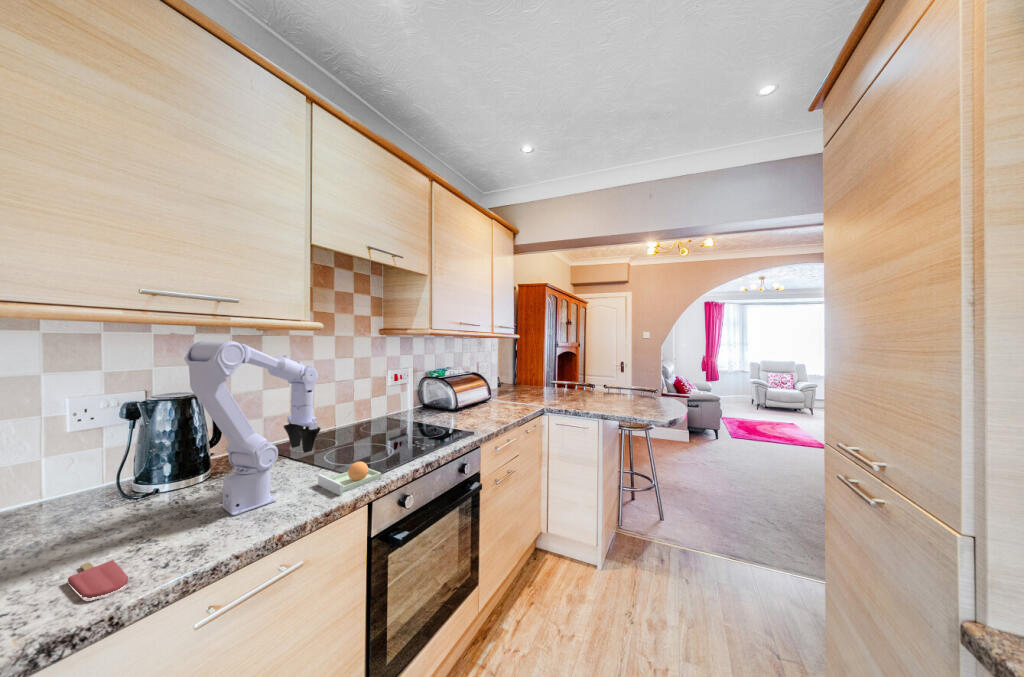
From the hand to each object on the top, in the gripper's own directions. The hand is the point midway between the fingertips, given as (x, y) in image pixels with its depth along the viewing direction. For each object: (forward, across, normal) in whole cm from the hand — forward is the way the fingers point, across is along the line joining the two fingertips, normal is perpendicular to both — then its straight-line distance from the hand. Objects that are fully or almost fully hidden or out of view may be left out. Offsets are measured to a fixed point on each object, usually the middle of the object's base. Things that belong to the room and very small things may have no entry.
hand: (301, 449), depth 103 cm
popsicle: (+10, -15, +41) cm, 45 cm away
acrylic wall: (+9, -14, -2) cm, 17 cm away
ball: (+6, -15, -9) cm, 19 cm away
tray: (+9, -14, -9) cm, 19 cm away
